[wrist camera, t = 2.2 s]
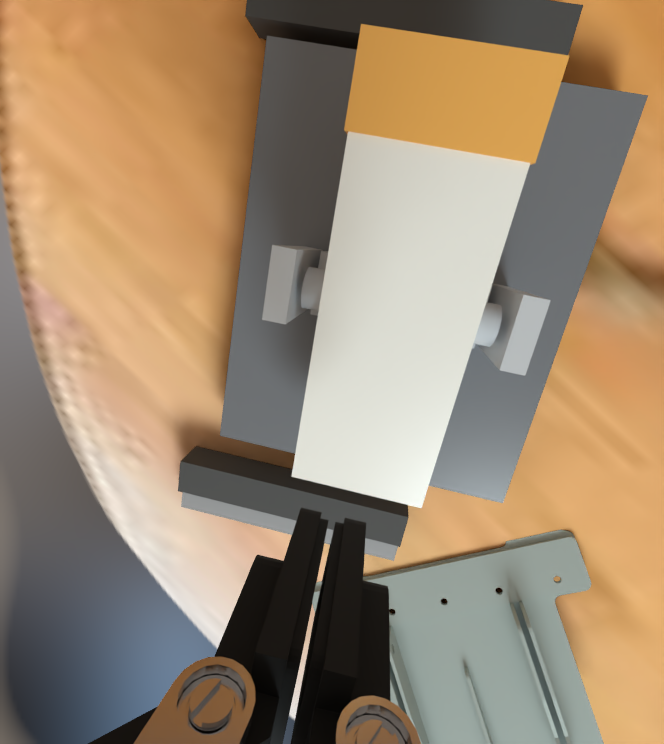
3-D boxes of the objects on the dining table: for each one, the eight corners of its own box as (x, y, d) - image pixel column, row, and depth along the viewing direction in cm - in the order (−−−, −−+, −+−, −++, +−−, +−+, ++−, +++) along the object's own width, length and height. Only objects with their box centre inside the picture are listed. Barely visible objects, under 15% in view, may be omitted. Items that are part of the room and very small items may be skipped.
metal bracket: (684, 828, 19) (373, 849, 23) (628, 725, 25) (385, 753, 28) (576, 521, 20) (293, 584, 24) (545, 489, 26) (320, 543, 29)
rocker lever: (563, 83, 12) (595, 59, 10) (436, 479, 18) (440, 514, 16) (348, 50, 13) (337, 20, 11) (287, 444, 18) (273, 473, 16)
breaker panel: (619, 112, 17) (765, 23, 10) (493, 481, 22) (536, 582, 15) (280, 58, 18) (213, -55, 11) (234, 420, 23) (169, 489, 16)
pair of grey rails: (563, 30, 16) (583, 5, 15) (411, 550, 24) (412, 573, 22) (242, -18, 17) (225, -46, 16) (191, 494, 25) (175, 513, 23)
